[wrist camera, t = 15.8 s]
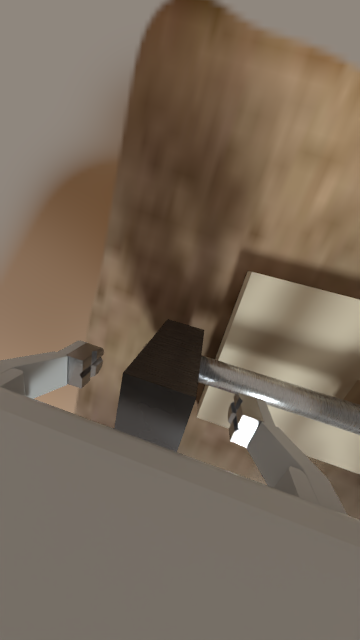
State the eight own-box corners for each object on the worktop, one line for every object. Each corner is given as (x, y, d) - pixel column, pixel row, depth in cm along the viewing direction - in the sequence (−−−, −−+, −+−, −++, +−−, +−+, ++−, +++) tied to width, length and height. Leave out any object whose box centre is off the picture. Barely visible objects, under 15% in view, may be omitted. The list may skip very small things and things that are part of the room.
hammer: (382, 383, 12) (605, 535, 5) (350, 423, 13) (492, 584, 7) (157, 316, 13) (102, 365, 7) (148, 357, 15) (95, 434, 8)
